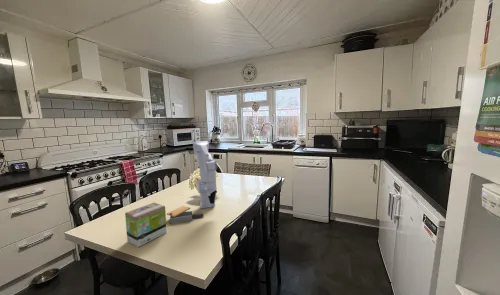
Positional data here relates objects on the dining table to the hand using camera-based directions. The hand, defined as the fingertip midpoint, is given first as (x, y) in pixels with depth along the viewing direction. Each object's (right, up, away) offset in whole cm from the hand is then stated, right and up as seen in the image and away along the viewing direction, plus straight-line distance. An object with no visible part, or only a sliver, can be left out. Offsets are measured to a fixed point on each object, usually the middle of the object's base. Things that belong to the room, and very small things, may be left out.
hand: (212, 203), depth 121 cm
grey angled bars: (-17, -9, -4) cm, 20 cm away
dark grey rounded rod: (-9, -8, -1) cm, 12 cm away
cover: (-20, -5, -1) cm, 21 cm away
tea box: (-28, -11, -21) cm, 37 cm away
